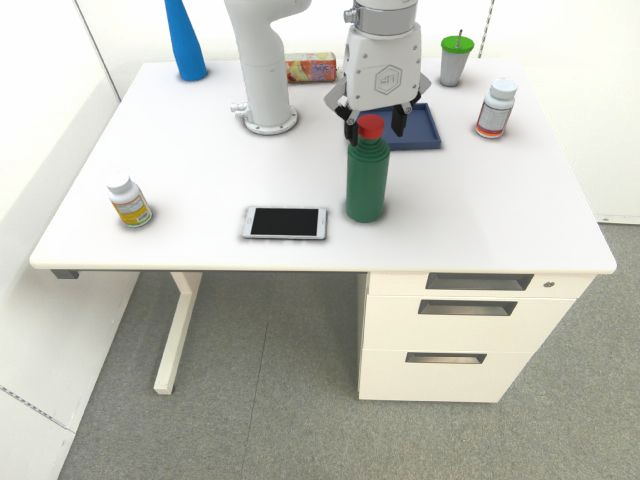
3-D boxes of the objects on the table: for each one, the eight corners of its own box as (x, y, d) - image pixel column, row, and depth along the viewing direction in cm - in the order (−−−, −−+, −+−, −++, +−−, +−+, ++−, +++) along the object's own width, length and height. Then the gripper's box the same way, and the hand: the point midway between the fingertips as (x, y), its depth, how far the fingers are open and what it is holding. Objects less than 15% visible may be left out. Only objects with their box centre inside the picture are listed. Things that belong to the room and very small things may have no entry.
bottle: (175, 79, 111) (133, -53, 88) (189, 66, 115) (152, -63, 92) (199, 83, 109) (162, -51, 86) (211, 70, 114) (180, -61, 90)
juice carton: (335, 71, 111) (335, 46, 106) (336, 83, 107) (336, 58, 102) (258, 74, 111) (255, 50, 106) (257, 87, 107) (253, 62, 102)
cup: (445, 71, 109) (458, 12, 97) (470, 82, 105) (486, 21, 94) (427, 82, 106) (438, 22, 94) (452, 93, 102) (467, 32, 90)
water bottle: (347, 223, 74) (350, 140, 60) (344, 197, 79) (346, 114, 65) (385, 221, 74) (396, 138, 60) (380, 195, 79) (389, 112, 65)
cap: (355, 138, 62) (356, 128, 61) (359, 123, 65) (359, 113, 63) (381, 140, 62) (382, 130, 60) (384, 125, 64) (385, 115, 63)
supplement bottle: (127, 208, 79) (105, 170, 71) (154, 206, 79) (135, 168, 71) (120, 229, 75) (97, 191, 68) (149, 226, 75) (129, 188, 68)
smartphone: (248, 206, 77) (326, 207, 76) (249, 208, 77) (326, 210, 77) (241, 236, 72) (324, 237, 71) (242, 238, 73) (324, 240, 72)
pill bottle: (485, 120, 94) (500, 73, 85) (508, 131, 91) (526, 84, 82) (469, 130, 92) (483, 83, 83) (492, 142, 88) (509, 95, 80)
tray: (351, 152, 88) (352, 144, 86) (347, 113, 98) (347, 105, 96) (439, 148, 88) (441, 141, 86) (426, 110, 98) (427, 102, 96)
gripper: (326, 38, 46) (328, 162, 59) (464, 16, 48) (435, 139, 62) (308, 13, 50) (314, 134, 64) (435, -6, 53) (415, 113, 67)
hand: (374, 136), depth 63 cm, fingers open, 6 cm apart
